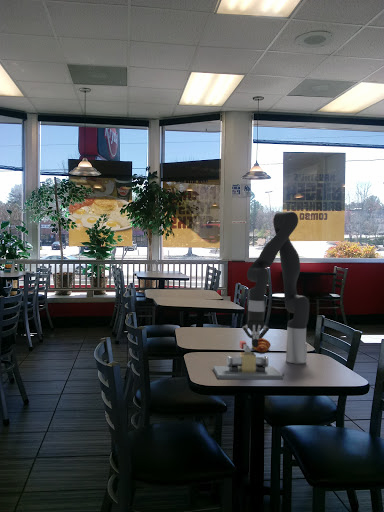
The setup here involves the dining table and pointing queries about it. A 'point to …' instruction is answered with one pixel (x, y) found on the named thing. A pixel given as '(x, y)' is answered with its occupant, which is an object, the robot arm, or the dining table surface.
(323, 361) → the dining table surface
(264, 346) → the croissant
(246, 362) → the valve pipe
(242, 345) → the lever
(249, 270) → the robot arm
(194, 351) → the dining table surface
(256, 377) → the slate board
